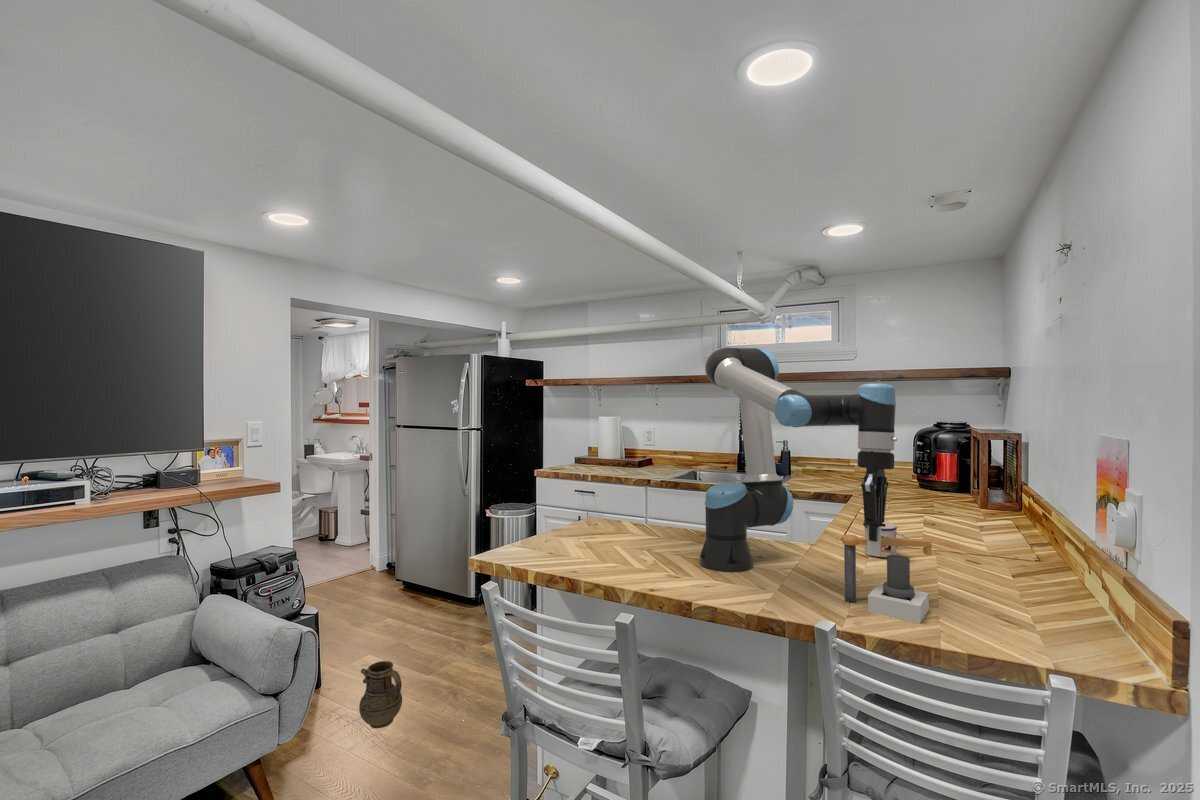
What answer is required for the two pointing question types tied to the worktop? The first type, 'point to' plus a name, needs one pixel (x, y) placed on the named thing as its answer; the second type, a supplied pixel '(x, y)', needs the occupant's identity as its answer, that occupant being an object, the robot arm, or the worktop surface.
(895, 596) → the plug
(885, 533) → the teacup with lid
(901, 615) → the socket block
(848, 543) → the clip
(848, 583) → the clip post
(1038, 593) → the worktop surface
